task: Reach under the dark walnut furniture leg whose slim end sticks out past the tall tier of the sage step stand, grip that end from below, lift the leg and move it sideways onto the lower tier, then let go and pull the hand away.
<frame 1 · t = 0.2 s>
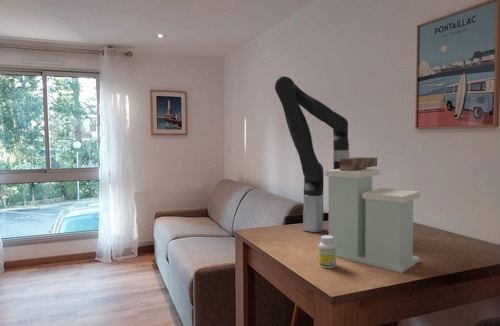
hand: (342, 194, 169), 18 cm above the table, tool pointing down, fingers open, 8 cm apart
supplement bottle: (327, 266, 125), on the table
step stand: (370, 257, 132), on the table
walnut leg: (353, 169, 136), point 32 cm above the table, touching step stand
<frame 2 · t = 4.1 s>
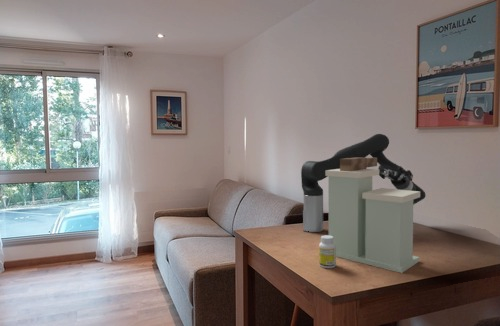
hand: (389, 167, 158), 31 cm above the table, tool pointing upward, fingers open, 8 cm apart
nothing on the table moved.
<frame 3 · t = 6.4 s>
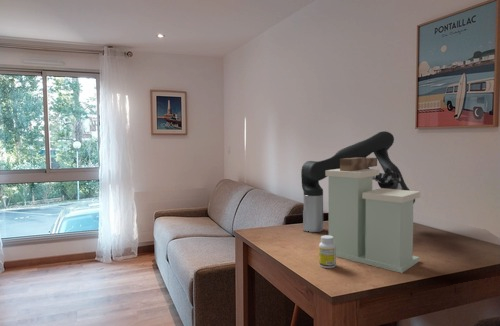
hand: (375, 169, 149), 31 cm above the table, tool pointing upward, fingers open, 8 cm apart
nothing on the table moved.
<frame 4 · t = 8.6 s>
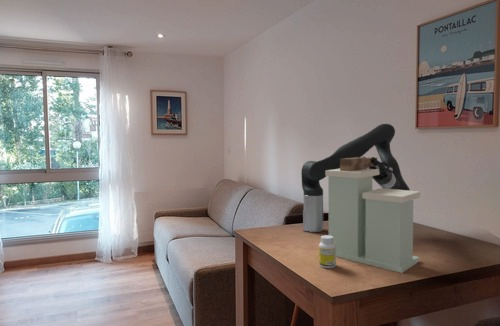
hand: (367, 158, 144), 36 cm above the table, tool pointing upward, fingers closed on walnut leg, 3 cm apart
walnut leg: (353, 169, 136), point 32 cm above the table, touching gripper, step stand
everything else where it was.
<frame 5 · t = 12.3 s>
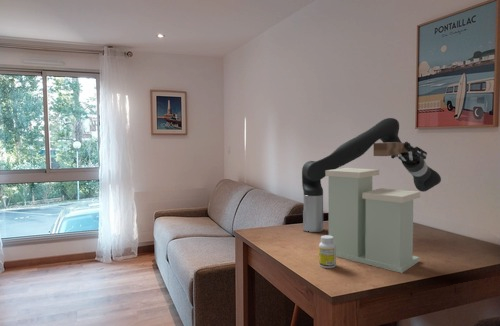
hand: (400, 144, 134), 42 cm above the table, tool pointing upward, fingers closed on walnut leg, 3 cm apart
walnut leg: (387, 155, 127), point 38 cm above the table, touching gripper
everything else where it was.
when the fingers open (30 cm above the table, at t = 15.9 s): walnut leg drops 2 cm, resting on step stand.
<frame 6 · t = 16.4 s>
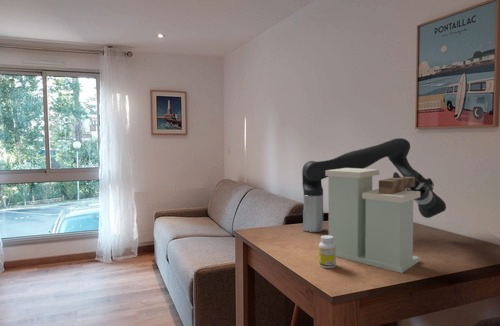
hand: (406, 174, 134), 30 cm above the table, tool pointing upward, fingers open, 8 cm apart
walnut leg: (392, 191, 126), point 25 cm above the table, touching step stand
everything else where it was.
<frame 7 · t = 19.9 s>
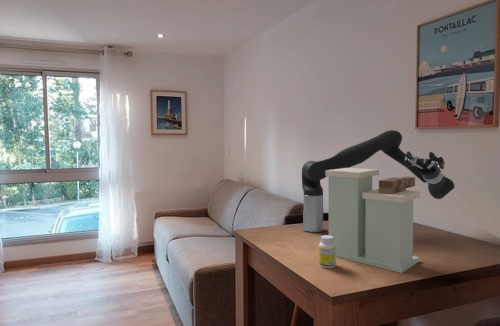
hand: (418, 153, 142), 37 cm above the table, tool pointing upward, fingers open, 8 cm apart
nothing on the table moved.
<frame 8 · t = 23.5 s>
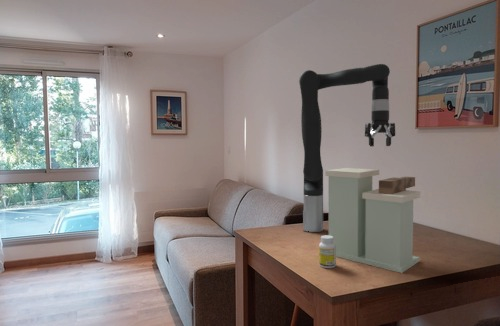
hand: (380, 146, 163), 40 cm above the table, tool pointing down, fingers open, 8 cm apart
nothing on the table moved.
at the end: walnut leg inside the target area on the step stand (0.1 cm from its centre), point 25.0 cm above the step stand's base; the gripper is holding nothing; walnut leg tilted 0° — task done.
